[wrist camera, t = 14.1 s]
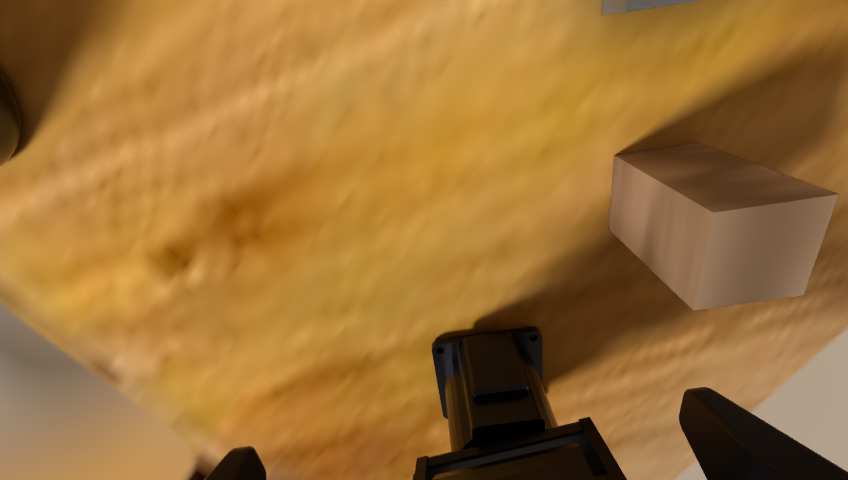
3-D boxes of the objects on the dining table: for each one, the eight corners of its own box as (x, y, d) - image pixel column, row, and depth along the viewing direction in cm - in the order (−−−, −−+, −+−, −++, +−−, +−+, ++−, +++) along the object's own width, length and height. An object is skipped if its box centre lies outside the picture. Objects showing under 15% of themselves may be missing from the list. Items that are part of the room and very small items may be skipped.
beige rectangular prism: (697, 142, 19) (839, 194, 13) (685, 217, 21) (803, 295, 15) (613, 155, 19) (713, 212, 13) (608, 229, 21) (693, 310, 15)
